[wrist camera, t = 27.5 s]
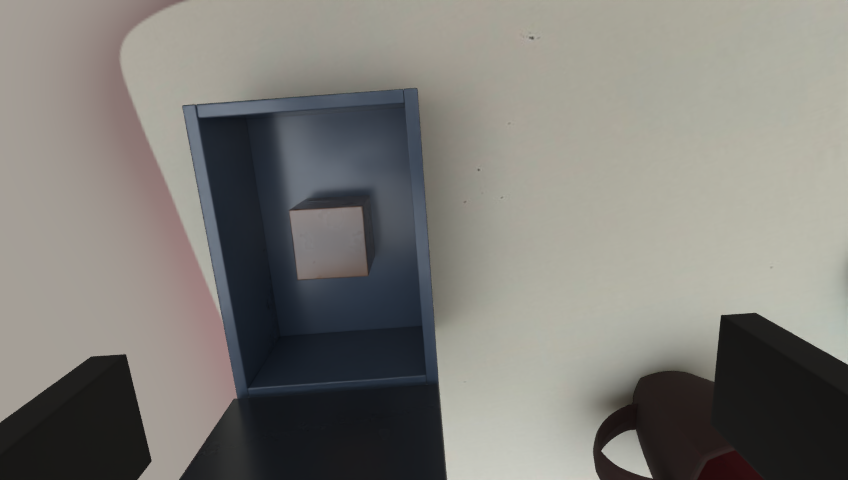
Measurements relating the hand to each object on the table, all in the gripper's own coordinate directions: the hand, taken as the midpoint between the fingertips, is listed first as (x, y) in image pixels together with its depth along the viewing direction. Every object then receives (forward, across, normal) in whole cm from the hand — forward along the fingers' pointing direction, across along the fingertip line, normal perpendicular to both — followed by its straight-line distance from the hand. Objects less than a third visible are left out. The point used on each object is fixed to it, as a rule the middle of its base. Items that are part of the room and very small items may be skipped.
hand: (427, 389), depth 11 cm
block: (+27, -6, -2) cm, 28 cm away
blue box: (+28, -6, -2) cm, 28 cm away
